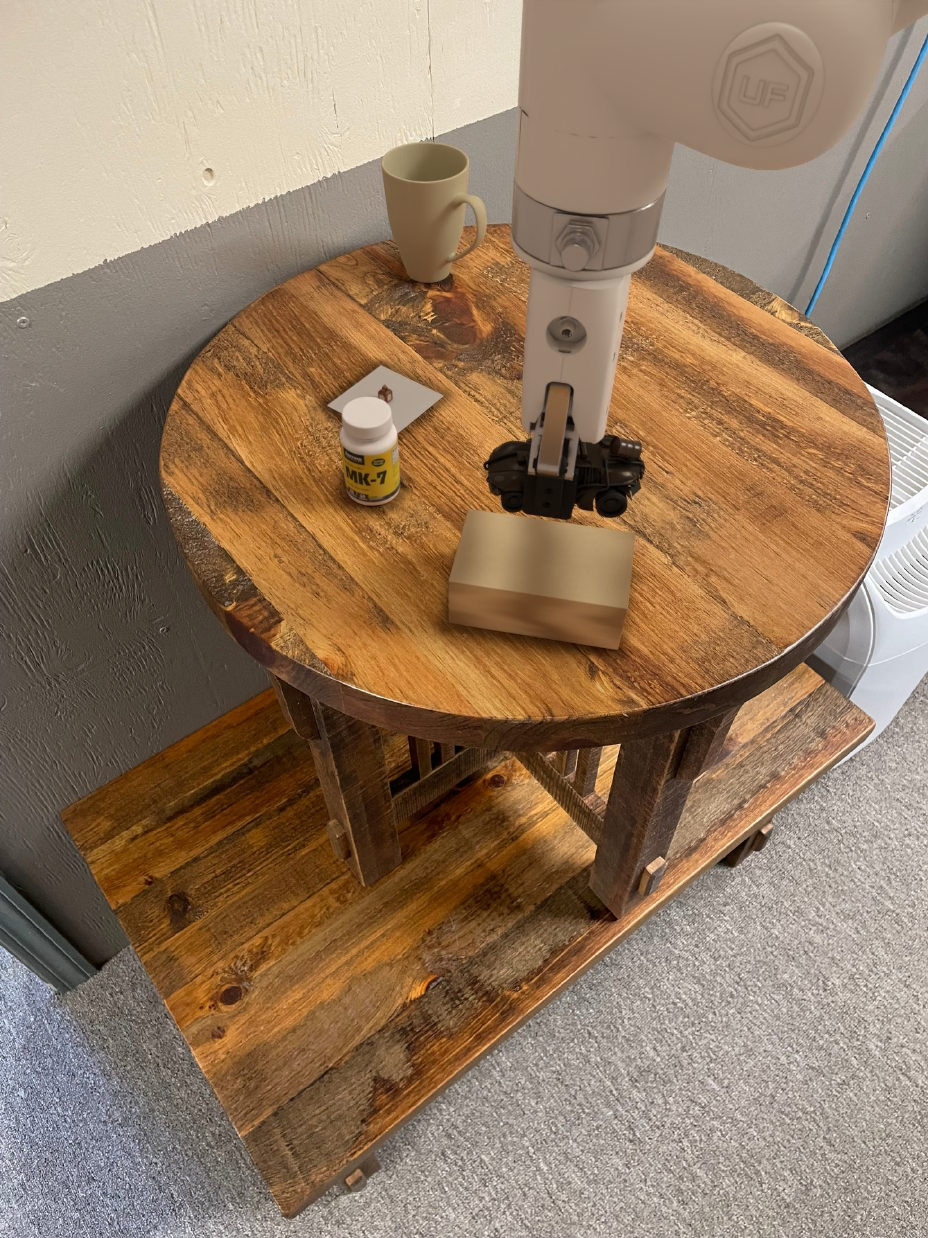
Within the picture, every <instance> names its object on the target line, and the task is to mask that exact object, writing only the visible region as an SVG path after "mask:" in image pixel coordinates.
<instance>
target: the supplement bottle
mask: <svg viewBox="0 0 928 1238" xmlns="http://www.w3.org/2000/svg"><path fill="white" fill-rule="evenodd" d="M341 423H342V424H341V425H342V427H341V429H340V431H339V445H340V452H341V461H342V469H343V475H344V476H343V477H344V485H345V490H346V492H347V495H348V496H349V498H350V499H352V501H354V502H356V503H357V504H360V505H363V506H381V505H385V504H387V503H389V502H391V501H392V500H394V499H395V498H396V497H397V495H398V494H399V493H400V490H401V472H400V470H401V469H400V455H399V454H400V453H399V435H398V434H397V430H396V428H395V426H394V424H393V423H392V415H391V409H390V407H389V405H388V404H387V403H386V402H385V401H383V400H381V399H378V398H375V397H360V398H357V399H354V400H352V401H350V402H348V403H347V404H346V405H345V406H344V408H343V410H342V413H341Z"/></svg>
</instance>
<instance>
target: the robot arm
mask: <svg viewBox="0 0 928 1238" xmlns="http://www.w3.org/2000/svg"><path fill="white" fill-rule="evenodd" d="M926 15H928V0H522V11H521V28H520V29H521V31H520V51H519V70H518V88H517V89H518V90H517V92H518V93H517V110H516V130H515V150H514V167H513V168H514V170H513V189H512V205H511V206H512V207H511V228H510V245H511V248H512V250H513V252H514V253H515V255H516V256H517V257H518V258H519V259H520V260H521V261H522V262H523V263H524V264H526V265H527V266H529V267H530V269H529V280H528V293H527V304H526V315H525V316H526V317H525V329H524V330H525V331H524V344H523V346H524V347H523V364H522V380H521V381H522V385H521V412H520V413H521V415H520V419H521V420H520V421H521V427H522V429H523V431H524V432H525V433H526V434H527V435H528V436H530V435H531V433H532V436H531V439H532V443H531V451H530V459H529V462H527V464H526V471H525V482H524V494H523V506H522V511H521V512H522V513H524V514H525V515H529V516H535V517H542V518H548V519H549V518H550V519H557V520H563V521H569V520H571V518H573V517H572V516H573V512H574V509H573V505H574V498H575V491H576V485H577V478H578V471H579V469H576V468H575V463H576V456H577V450H578V443H579V438H580V439H581V441H582V442H591V443H592V444H596V443H598V442H599V441H600V440H601V439H602V438H603V437H604V435H606V429H607V422H608V417H609V412H610V406H611V401H612V396H613V389H614V385H615V380H616V379H615V378H616V374H617V366H618V361H619V356H620V349H621V345H622V344H621V343H622V338H623V332H624V327H625V322H626V315H627V310H628V303H629V296H630V289H631V279H632V274H633V273H635V272H637V271H639V270H641V269H642V268H644V267H645V266H646V265H647V264H648V263H650V261H651V259H652V258H653V256H654V255H655V251H656V245H657V241H658V237H659V236H658V235H659V229H660V224H661V220H662V214H663V209H664V204H665V199H666V193H667V184H668V181H669V175H670V170H671V164H672V158H673V155H674V154H673V153H674V149H675V143H678V144H680V145H682V146H684V147H686V148H689V149H692V150H694V151H696V152H699V153H701V154H703V155H706V156H708V157H710V158H713V159H715V160H718V161H722V162H725V163H727V164H731V165H734V166H737V167H740V168H746V169H751V170H757V171H778V170H779V171H780V170H787V169H790V168H794V167H798V166H802V165H804V164H806V163H809V162H811V161H813V160H815V159H818V158H819V157H820V156H823V154H825V153H826V152H828V151H830V150H831V149H832V148H833V147H834V146H835V145H837V144H838V143H839V142H841V140H842V139H843V138H844V137H845V136H846V135H847V134H848V133H849V131H851V130H852V129H853V127H854V126H855V124H856V122H857V121H858V120H859V119H860V117H861V115H862V114H863V112H864V110H865V108H866V106H867V104H868V103H869V101H870V100H871V97H872V94H873V92H874V89H875V87H876V84H877V82H878V78H879V75H880V72H881V69H882V65H883V61H884V57H885V55H886V52H887V48H888V43H889V41H890V38H892V37H893V36H895V35H896V34H898V33H899V32H902V31H903V30H904V29H905V28H907V27H909V26H911V25H912V24H914V23H915V22H917V21H918V20H920V19H921V18H923V17H925V16H926ZM565 439H569V440H570V442H569V449H568V456H567V459H566V457H563V456H562V450H563V443H564V440H565Z"/></svg>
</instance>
